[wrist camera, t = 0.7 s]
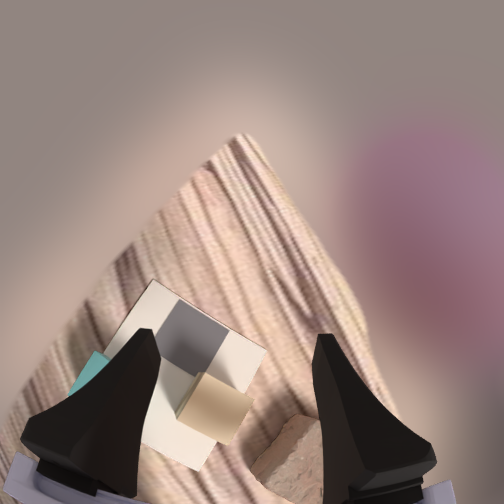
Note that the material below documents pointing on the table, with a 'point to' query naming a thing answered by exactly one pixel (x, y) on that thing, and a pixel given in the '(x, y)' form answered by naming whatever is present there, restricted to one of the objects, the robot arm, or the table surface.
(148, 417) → the plate
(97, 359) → the teal block
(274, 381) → the table surface
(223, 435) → the beech block
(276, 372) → the table surface
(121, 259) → the table surface
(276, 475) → the brick
